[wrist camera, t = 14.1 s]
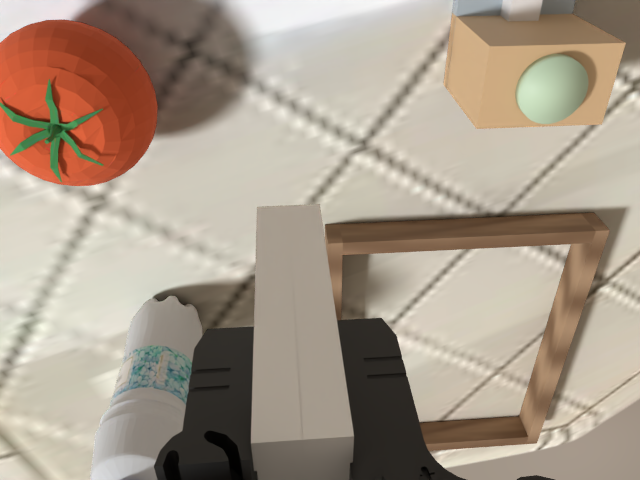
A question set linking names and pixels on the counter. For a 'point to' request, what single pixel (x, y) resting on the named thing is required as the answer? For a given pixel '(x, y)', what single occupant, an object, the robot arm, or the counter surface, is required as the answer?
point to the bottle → (148, 391)
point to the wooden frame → (491, 233)
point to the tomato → (73, 103)
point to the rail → (529, 64)
